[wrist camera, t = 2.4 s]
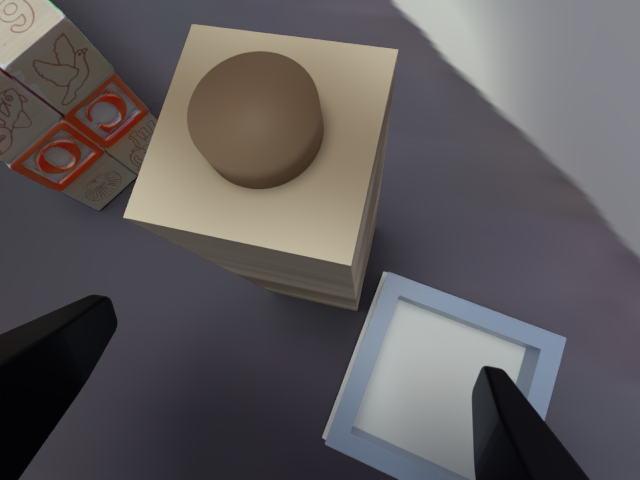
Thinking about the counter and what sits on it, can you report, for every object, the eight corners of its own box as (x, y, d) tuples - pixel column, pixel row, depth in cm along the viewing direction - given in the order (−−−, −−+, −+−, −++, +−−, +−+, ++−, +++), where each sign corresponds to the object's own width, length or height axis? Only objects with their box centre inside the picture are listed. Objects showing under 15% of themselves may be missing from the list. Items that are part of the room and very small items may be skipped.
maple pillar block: (357, 311, 19) (349, 256, 6) (271, 292, 20) (96, 203, 7) (375, 226, 20) (402, 17, 7) (293, 210, 21) (175, -8, 8)
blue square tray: (495, 512, 17) (518, 542, 14) (324, 432, 18) (318, 447, 16) (544, 335, 18) (572, 335, 16) (382, 274, 20) (385, 265, 17)
